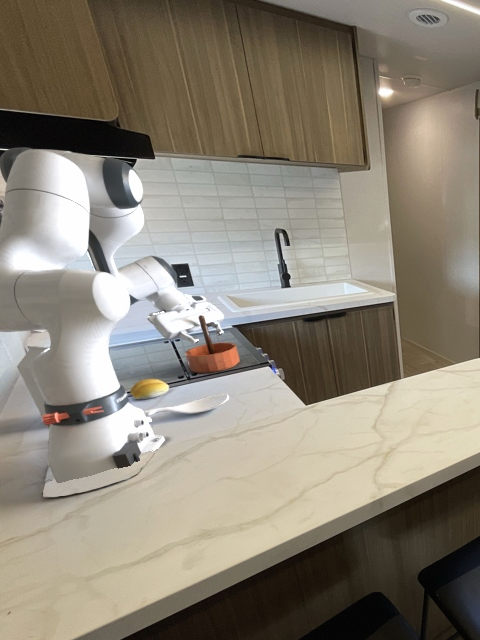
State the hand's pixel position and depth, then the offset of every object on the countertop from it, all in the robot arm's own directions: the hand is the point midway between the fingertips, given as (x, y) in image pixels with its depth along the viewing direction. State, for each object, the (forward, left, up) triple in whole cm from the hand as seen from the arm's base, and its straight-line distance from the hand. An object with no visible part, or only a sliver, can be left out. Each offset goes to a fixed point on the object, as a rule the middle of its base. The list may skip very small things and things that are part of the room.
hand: (209, 338), depth 132 cm
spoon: (-38, +11, -10) cm, 41 cm away
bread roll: (-17, +15, -10) cm, 25 cm away
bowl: (0, 0, -10) cm, 10 cm away
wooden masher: (0, 0, -9) cm, 9 cm away
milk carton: (-24, +30, -10) cm, 40 cm away
